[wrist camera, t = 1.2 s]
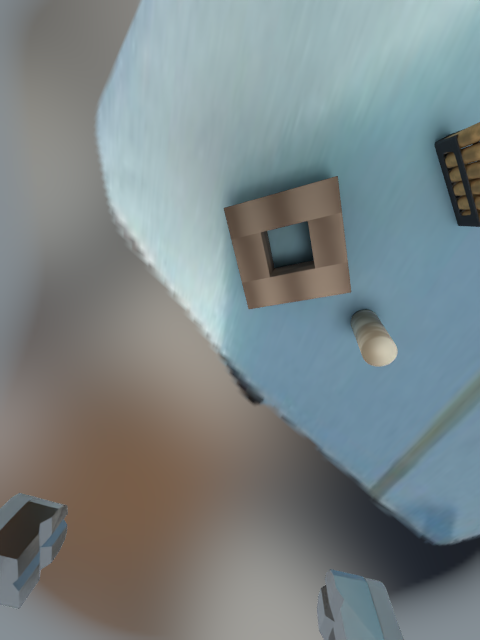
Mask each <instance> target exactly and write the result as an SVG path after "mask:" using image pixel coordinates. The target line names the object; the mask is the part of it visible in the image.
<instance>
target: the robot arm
mask: <svg viewBox="0 0 480 640" xmlns="http://www.w3.org/2000/svg"><path fill="white" fill-rule="evenodd" d="M66 515H67V505H63V504H59V503H55V502H52V501H48V500H44V499H40V498H37V497H33V496H29V495H25V494H21V493H19V494H17V495H15V496H14V497H12V498H11V499H10V500H9V501H8V502H7V503H6V504H5V505H4V506H2V508H0V605H5V606H9V607H14V608H18V609H19V608H20V607H21V606H22V604H23V603H24V601H25V600H26V598H27V597H28V596H29V594H30V593H31V591H32V590H33V588H34V587H35V585H36V584H37V583H38V581H39V579H40V570H41V569H42V568H44V567H45V566H47V565H48V564H50V563H51V562H52V561H53V560H54V558H55V556H56V555H57V554H58V552H59V550H60V548H61V546H62V544H63V542H64V540H65V536H66V533H67V524H66V522H65V521H64V518H65V516H66ZM325 581H326V585H325V586H323V587H322V588H321V589H320V593H319V596H318V606H317V613H318V625H319V631H320V633H321V635H322V637H323V638H324V640H404V639H403V636H402V633H401V630H400V627H399V625H398V622H397V619H396V616H395V613H394V611H393V608H392V605H391V602H390V599H389V596H388V594H387V591H386V588H385V586H384V585H383V583H382V582H380V581H377V580H372V579H367V578H363V577H362V576H358V575H353V574H348V573H344V572H340V571H335V570H331V569H330V570H328V571H327V573H326V576H325Z"/></svg>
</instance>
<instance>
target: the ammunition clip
mask: <svg viewBox="0 0 480 640" xmlns="http://www.w3.org/2000/svg"><path fill="white" fill-rule="evenodd" d="M479 141H480V122H479V123H477V124H475V125H473V126H470V127H468V128H466V129H464V130H461V131H458V132H456V133H453V134H450V135H449V136H447V137H445V138H443V139H441V140H439V141H437V142H436V143H435V148H436V152H437V155H438V158H439V162H440V165H441V168H442V172H443V175H444V179H445V182H446V185H447V189H448V192H449V196H450V199H451V202H452V206H453V209H454V212H455V216H456V219H457V223H458V225H459V226H475V227H480V142H479ZM471 144H473V145H471ZM468 145H471V146H468ZM466 146H468V147H466ZM463 147H465V148H463ZM461 148H463V149H461ZM475 161H477V162H475ZM471 162H473V163H471ZM468 163H469V164H468Z"/></svg>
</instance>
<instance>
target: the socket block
mask: <svg viewBox="0 0 480 640" xmlns="http://www.w3.org/2000/svg"><path fill="white" fill-rule="evenodd" d="M224 211H225V215H226V220H227V224H228V228H229V232H230V236H231V240H232V244H233V248H234V252H235V256H236V260H237V264H238V268H239V272H240V276H241V280H242V284H243V288H244V292H245V296H246V300H247V305H248V309H253V308H259V307H265V306H271V305H277V304H283V303H289V302H296V301H302V300H308V299H314V298H320V297H326V296H332V295H338V294H344V293H350V292H351V286H350V277H349V269H348V260H347V251H346V243H345V234H344V226H343V217H342V209H341V200H340V192H339V183H338V176H336V177H332V178H329V179H325V180H322V181H318V182H315V183H311V184H308V185H304V186H300V187H297V188H293V189H290V190H286V191H283V192H279V193H276V194H272V195H269V196H265V197H262V198H258V199H254V200H251V201H247V202H244V203H240V204H237V205H233V206H230V207H226V208H224ZM305 221H308V226H309V232H310V239H311V245H312V252H313V258H314V260H313V261H308V262H303V263H298V264H293V265H288V266H283V267H279V268H274V263H273V258H272V253H271V248H270V243H269V238H268V234H267V231H268V230H272V229H277V228H281V227H285V226H289V225H293V224H297V223H301V222H305Z"/></svg>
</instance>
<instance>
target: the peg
mask: <svg viewBox="0 0 480 640" xmlns="http://www.w3.org/2000/svg"><path fill="white" fill-rule="evenodd" d="M351 326H352V329H353V332H354V335H355V337H356V340H357V343H358V345H359V348H360V351H361V354H362V356H363V359H364V360H365V361H366V362H367V363H368V364H370V365H373V366H385V365H388V364H390V363H391V362H392V361H393V360H394V359H395V358H396V356H397V347H396V345H395V343H394V342H393V340H392V339H391V337H390V335H389V334H388V332H387V331H386V329H385V328H384V326H383V324H382V323H381V321H380V320H379V318H378V317H377V315H376V314H375V313H374V312H373V311H370V310H360V311H358V312H356V313H355V314H354V315H353V316H352V318H351Z"/></svg>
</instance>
